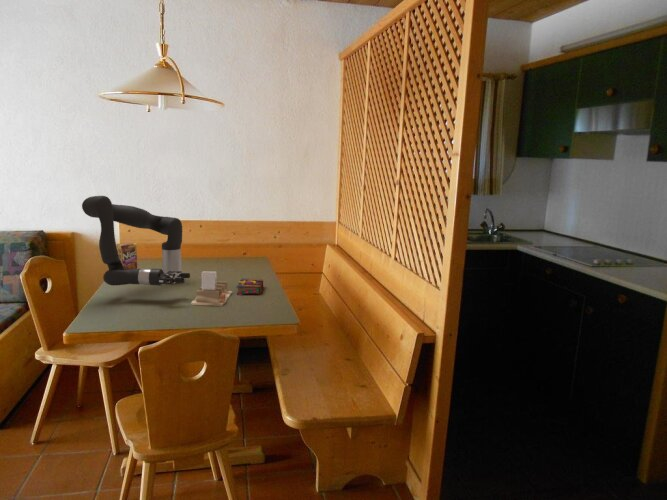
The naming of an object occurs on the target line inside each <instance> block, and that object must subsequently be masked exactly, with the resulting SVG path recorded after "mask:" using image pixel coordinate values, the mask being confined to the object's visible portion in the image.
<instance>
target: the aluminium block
mask: <svg viewBox="0 0 667 500" xmlns="http://www.w3.org/2000/svg"><path fill="white" fill-rule="evenodd" d="M200 273H201V287H202V291H217V278H218V277H217V271H215V270H214V271H209V270H208V271H206V270H205V271H204V270H203V271H202V272H200Z"/></svg>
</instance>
